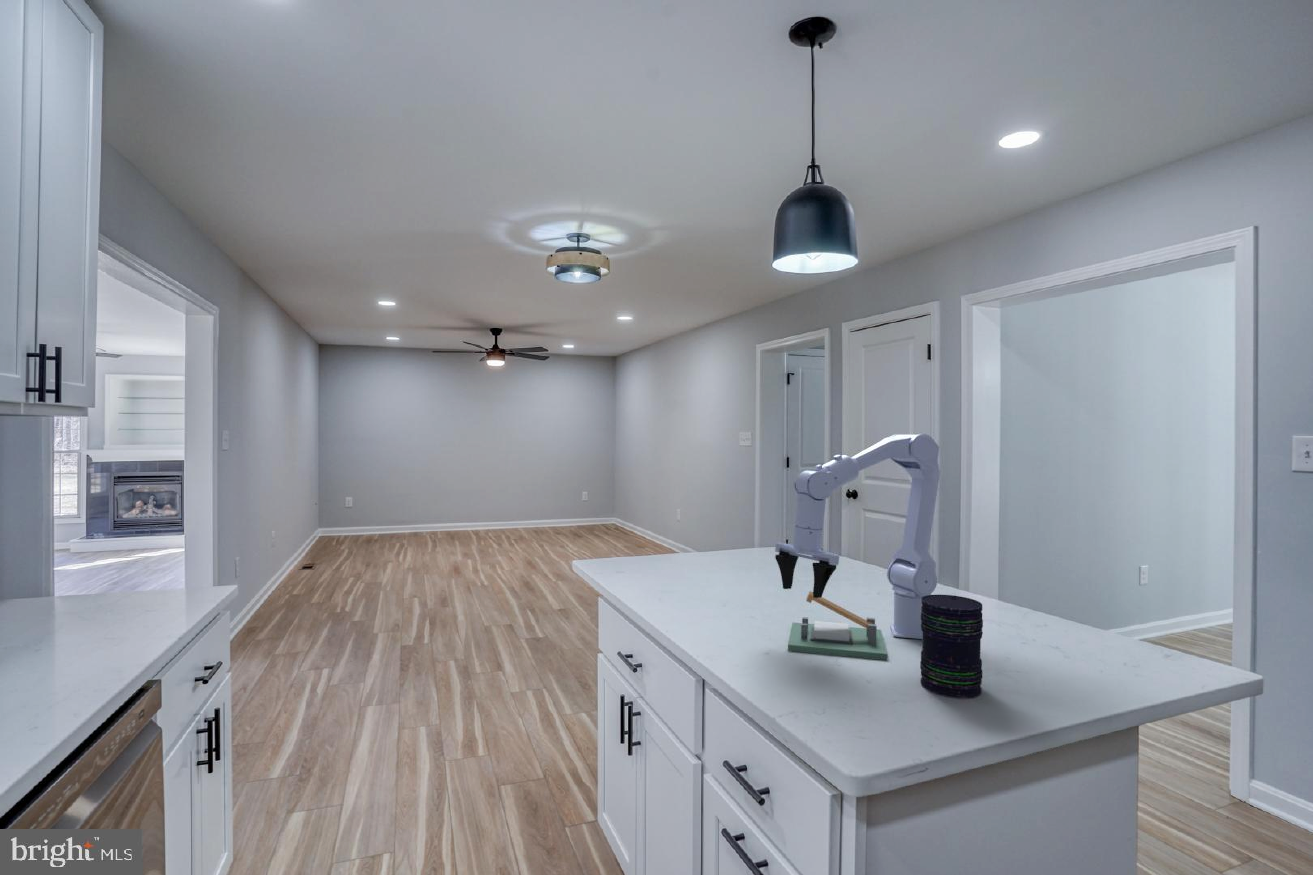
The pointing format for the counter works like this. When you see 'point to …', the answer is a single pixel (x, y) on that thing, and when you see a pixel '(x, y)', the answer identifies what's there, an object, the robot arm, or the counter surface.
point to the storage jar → (951, 646)
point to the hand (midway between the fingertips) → (801, 592)
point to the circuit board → (839, 648)
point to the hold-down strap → (838, 610)
